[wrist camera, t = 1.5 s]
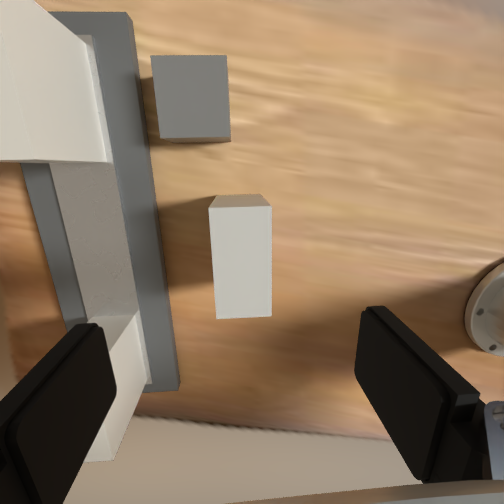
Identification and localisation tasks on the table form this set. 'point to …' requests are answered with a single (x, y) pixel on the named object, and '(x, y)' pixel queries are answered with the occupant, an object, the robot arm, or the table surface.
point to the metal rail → (100, 226)
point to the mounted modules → (63, 160)
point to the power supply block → (192, 97)
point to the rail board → (132, 191)
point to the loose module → (241, 255)
